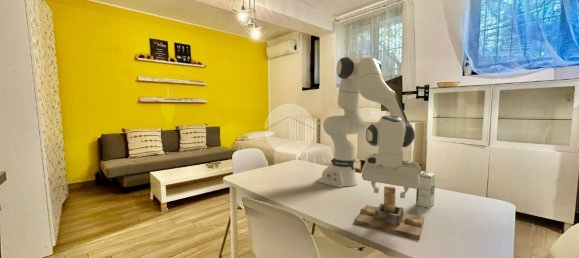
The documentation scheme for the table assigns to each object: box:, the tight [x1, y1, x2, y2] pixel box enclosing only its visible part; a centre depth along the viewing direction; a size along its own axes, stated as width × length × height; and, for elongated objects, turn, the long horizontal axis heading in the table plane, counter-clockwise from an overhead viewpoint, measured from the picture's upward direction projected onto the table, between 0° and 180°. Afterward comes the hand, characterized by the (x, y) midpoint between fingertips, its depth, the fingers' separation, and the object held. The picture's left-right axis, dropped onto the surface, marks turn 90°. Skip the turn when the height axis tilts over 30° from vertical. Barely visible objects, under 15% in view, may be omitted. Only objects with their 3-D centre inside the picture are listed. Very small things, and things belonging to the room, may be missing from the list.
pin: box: [383, 185, 397, 214], centre depth 93 cm, size 4×4×12 cm
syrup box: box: [415, 170, 436, 209], centre depth 108 cm, size 6×6×14 cm
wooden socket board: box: [353, 203, 425, 241], centre depth 94 cm, size 22×16×5 cm
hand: (389, 195), depth 93 cm, fingers open, 8 cm apart
